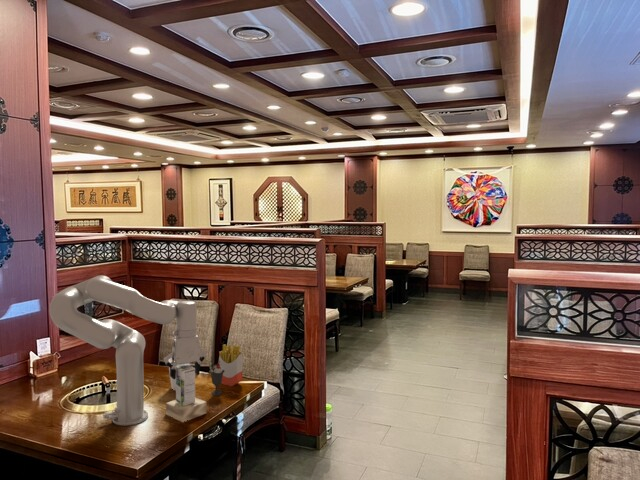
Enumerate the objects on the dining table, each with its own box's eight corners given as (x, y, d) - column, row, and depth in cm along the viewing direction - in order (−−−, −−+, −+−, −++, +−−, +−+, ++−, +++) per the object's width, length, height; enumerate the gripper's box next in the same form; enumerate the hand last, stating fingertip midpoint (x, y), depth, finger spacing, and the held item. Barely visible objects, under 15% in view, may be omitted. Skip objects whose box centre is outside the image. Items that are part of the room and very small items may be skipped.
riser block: (182, 423, 177) (182, 410, 177) (166, 415, 184) (165, 403, 184) (206, 414, 186) (206, 401, 185) (189, 406, 193) (189, 394, 192)
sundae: (221, 396, 202) (221, 362, 201) (206, 395, 204) (206, 361, 203) (227, 391, 209) (227, 358, 208) (213, 389, 210) (213, 357, 209)
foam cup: (178, 382, 218) (179, 355, 217) (193, 386, 214) (194, 358, 213) (163, 389, 210) (163, 360, 209) (178, 393, 205) (178, 364, 205)
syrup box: (175, 401, 184) (174, 366, 182) (189, 397, 188) (188, 362, 186) (182, 407, 180) (181, 371, 178) (196, 402, 184) (195, 367, 182)
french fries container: (236, 387, 213) (236, 348, 212) (217, 383, 218) (217, 345, 217) (242, 384, 217) (242, 346, 216) (223, 380, 222) (224, 343, 221)
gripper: (167, 338, 175) (167, 383, 176) (210, 332, 185) (209, 374, 186) (160, 333, 181) (160, 377, 181) (202, 328, 191) (201, 369, 192)
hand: (185, 375), depth 184 cm, fingers open, 9 cm apart
